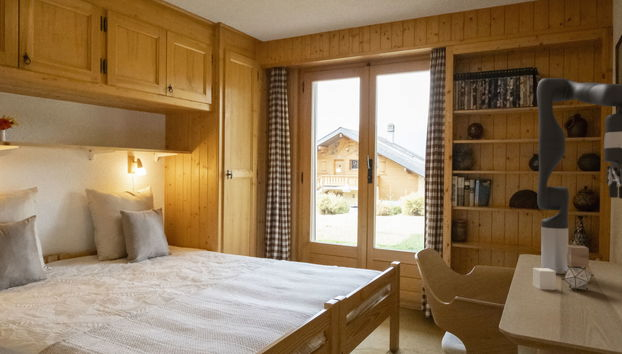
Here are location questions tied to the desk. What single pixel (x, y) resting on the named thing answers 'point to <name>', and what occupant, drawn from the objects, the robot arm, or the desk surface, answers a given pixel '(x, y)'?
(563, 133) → the robot arm
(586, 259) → the walnut block
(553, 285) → the white block
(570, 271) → the game die
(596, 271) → the desk surface
